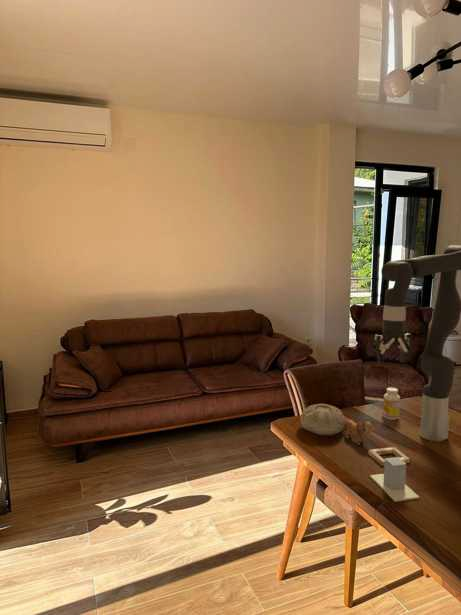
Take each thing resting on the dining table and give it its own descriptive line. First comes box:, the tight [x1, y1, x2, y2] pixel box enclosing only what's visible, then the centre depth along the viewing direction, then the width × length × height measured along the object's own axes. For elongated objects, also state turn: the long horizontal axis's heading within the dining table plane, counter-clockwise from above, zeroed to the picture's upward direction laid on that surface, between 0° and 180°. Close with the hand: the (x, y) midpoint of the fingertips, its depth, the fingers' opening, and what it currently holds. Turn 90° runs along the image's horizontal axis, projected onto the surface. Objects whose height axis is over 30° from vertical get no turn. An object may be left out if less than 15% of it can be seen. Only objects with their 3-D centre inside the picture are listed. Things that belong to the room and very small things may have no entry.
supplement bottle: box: [382, 387, 401, 421], centre depth 189 cm, size 7×7×13 cm
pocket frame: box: [367, 446, 410, 467], centre depth 153 cm, size 10×9×2 cm
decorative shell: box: [300, 403, 346, 436], centre depth 175 cm, size 18×18×10 cm
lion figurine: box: [340, 419, 375, 446], centre depth 167 cm, size 15×5×9 cm, turn 35°
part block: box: [383, 456, 407, 490], centre depth 134 cm, size 4×4×8 cm
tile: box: [369, 473, 420, 503], centre depth 135 cm, size 8×14×1 cm, turn 12°
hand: (391, 362), depth 155 cm, fingers open, 8 cm apart
